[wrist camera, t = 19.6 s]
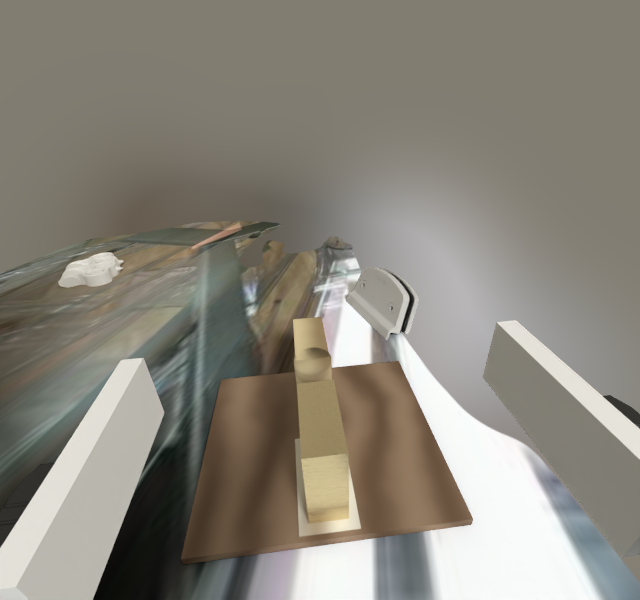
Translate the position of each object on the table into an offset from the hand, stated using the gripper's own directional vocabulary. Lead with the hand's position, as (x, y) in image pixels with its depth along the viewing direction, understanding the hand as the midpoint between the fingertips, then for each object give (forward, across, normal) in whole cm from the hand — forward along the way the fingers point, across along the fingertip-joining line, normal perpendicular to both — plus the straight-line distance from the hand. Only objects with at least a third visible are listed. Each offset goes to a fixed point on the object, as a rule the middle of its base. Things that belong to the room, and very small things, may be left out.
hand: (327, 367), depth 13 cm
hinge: (+47, +16, -28) cm, 57 cm away
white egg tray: (+81, -55, -28) cm, 102 cm away
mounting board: (+19, 0, -28) cm, 34 cm away
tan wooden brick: (+13, 0, -27) cm, 30 cm away
